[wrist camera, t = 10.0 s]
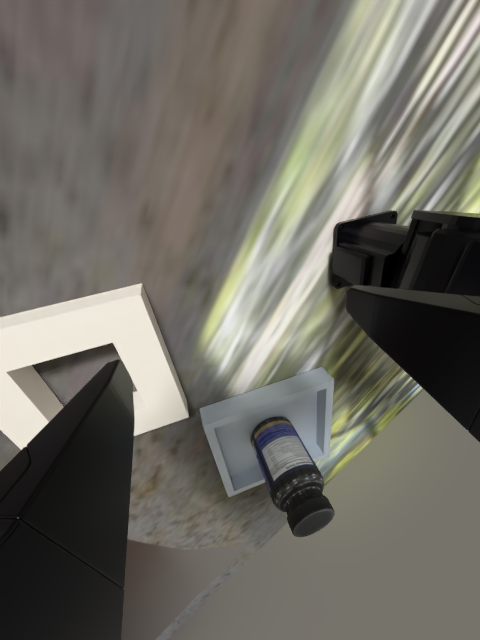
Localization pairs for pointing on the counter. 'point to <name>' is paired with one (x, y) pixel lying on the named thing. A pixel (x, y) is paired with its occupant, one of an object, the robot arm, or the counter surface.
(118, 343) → the white square frame
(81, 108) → the counter surface
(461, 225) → the robot arm
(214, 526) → the counter surface
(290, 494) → the pill bottle
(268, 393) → the tray
